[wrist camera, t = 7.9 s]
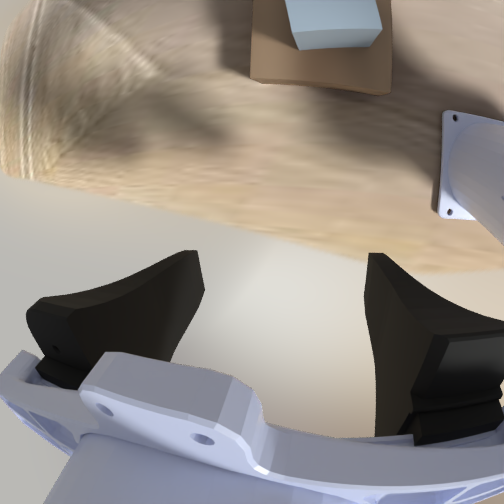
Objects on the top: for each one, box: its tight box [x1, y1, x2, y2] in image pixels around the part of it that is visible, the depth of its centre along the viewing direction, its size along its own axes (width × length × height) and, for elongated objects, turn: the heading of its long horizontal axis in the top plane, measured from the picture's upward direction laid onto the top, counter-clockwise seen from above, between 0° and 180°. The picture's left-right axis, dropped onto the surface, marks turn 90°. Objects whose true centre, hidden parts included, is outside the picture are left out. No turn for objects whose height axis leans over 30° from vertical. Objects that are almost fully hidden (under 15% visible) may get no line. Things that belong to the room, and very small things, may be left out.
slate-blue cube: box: [285, 0, 383, 51], centre depth 10 cm, size 4×4×4 cm
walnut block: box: [250, 0, 392, 96], centre depth 14 cm, size 8×8×4 cm
